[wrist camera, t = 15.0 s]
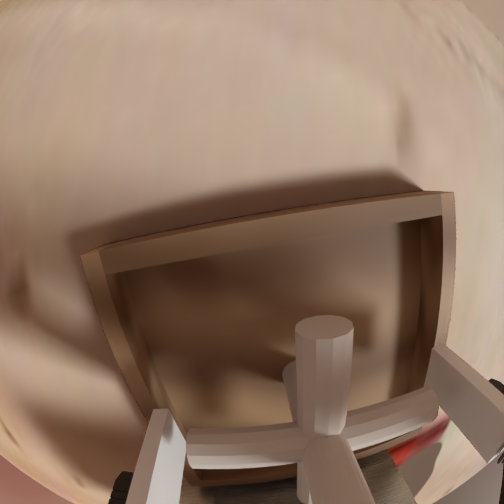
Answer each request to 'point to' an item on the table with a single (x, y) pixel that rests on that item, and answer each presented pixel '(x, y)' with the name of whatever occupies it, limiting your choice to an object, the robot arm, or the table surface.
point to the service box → (285, 490)
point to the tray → (276, 309)
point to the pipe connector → (317, 421)
